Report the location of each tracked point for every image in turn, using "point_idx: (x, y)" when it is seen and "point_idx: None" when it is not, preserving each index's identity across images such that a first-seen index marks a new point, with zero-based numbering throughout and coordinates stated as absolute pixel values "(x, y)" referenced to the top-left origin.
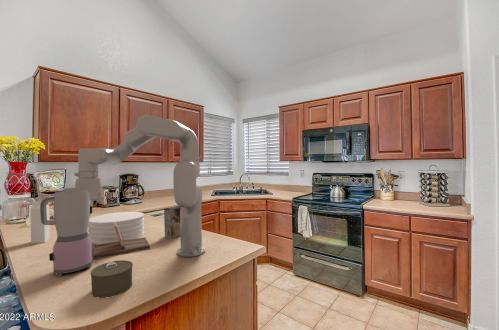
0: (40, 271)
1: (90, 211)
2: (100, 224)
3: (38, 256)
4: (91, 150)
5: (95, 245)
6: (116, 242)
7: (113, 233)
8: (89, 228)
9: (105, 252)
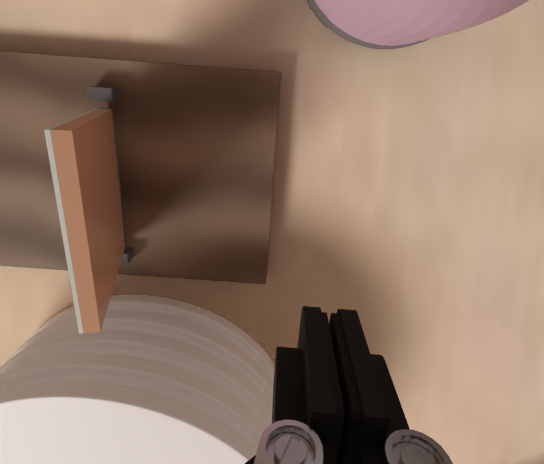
0: (537, 45)
1: (300, 363)
2: (217, 423)
3: (503, 312)
4: None
5: (261, 277)
6: (150, 262)
7: (153, 337)
8: None
9: (210, 91)
